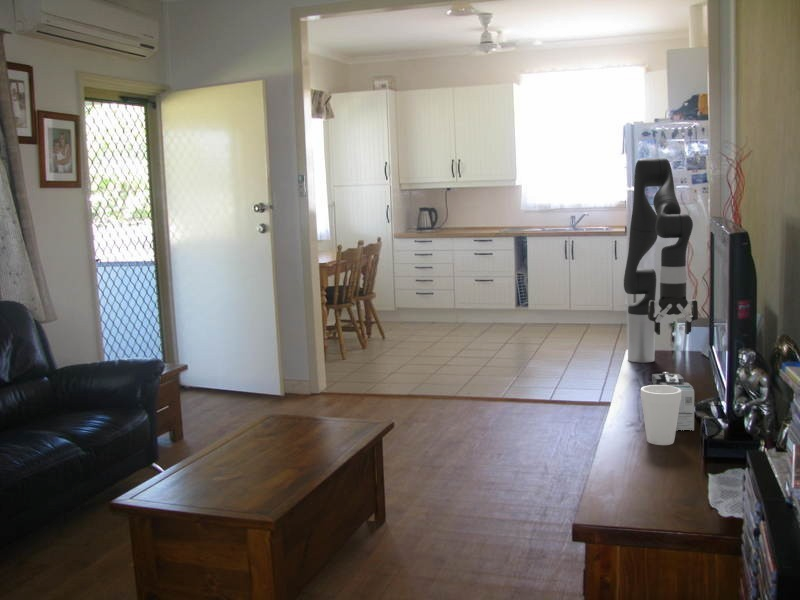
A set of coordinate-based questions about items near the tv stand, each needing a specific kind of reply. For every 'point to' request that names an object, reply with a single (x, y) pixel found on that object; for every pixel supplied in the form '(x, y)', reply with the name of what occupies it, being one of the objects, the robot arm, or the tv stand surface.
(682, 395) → the light bulb box
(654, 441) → the foam cup
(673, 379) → the bolted link plate
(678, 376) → the end link
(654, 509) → the tv stand surface
